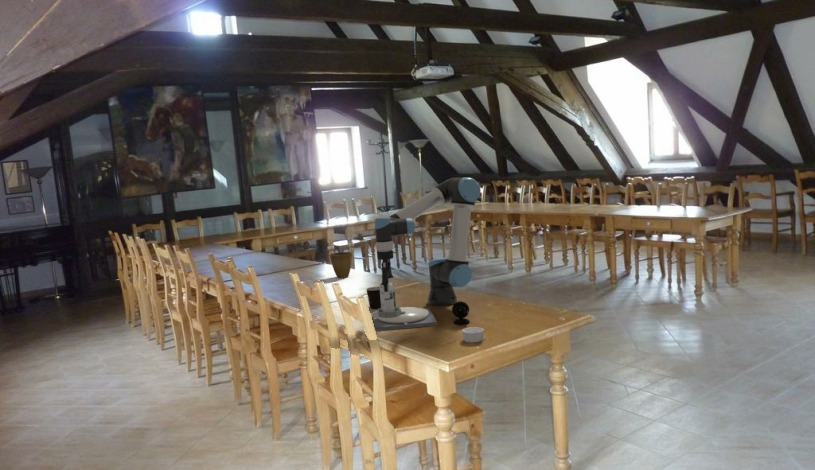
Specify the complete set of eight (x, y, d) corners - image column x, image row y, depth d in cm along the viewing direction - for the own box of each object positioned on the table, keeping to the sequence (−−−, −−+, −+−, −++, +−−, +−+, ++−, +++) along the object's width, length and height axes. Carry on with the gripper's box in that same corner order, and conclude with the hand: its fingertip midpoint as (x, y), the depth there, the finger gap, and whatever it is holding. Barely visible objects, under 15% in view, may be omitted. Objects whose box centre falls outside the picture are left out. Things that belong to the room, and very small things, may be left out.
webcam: (452, 325, 282) (450, 303, 280) (453, 321, 289) (452, 299, 288) (469, 325, 281) (468, 303, 279) (470, 320, 288) (469, 299, 287)
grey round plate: (434, 319, 287) (433, 311, 286) (381, 325, 282) (381, 316, 282) (422, 308, 310) (422, 300, 310) (374, 313, 306) (373, 305, 305)
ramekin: (472, 344, 252) (471, 334, 251) (458, 340, 259) (457, 330, 259) (488, 339, 257) (488, 329, 257) (474, 335, 264) (473, 325, 264)
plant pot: (357, 277, 415) (356, 253, 413) (337, 280, 407) (335, 256, 405) (348, 274, 428) (346, 250, 426) (328, 277, 420) (326, 253, 418)
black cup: (382, 309, 321) (380, 290, 319) (365, 309, 322) (364, 290, 321) (387, 304, 332) (386, 285, 331) (371, 304, 334) (370, 285, 332)
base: (429, 310, 312) (428, 306, 311) (437, 325, 284) (437, 321, 284) (372, 315, 309) (372, 311, 309) (375, 330, 281) (374, 326, 281)
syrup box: (384, 316, 292) (382, 285, 291) (381, 313, 298) (379, 283, 296) (396, 314, 294) (394, 284, 292) (392, 312, 300) (390, 282, 298)
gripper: (380, 246, 306) (383, 289, 308) (373, 255, 281) (377, 301, 284) (395, 245, 305) (398, 288, 308) (390, 254, 280) (393, 300, 283)
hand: (388, 295), depth 296 cm, fingers open, 13 cm apart
